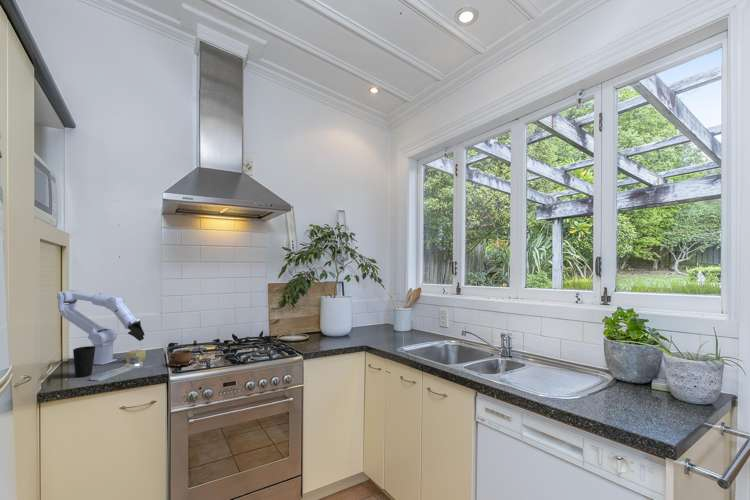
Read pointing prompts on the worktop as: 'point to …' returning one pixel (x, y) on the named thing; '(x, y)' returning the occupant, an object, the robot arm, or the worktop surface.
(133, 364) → the ratchet
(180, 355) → the cup and saucer
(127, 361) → the yellowish glass tumbler
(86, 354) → the cup
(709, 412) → the worktop surface
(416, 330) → the worktop surface
